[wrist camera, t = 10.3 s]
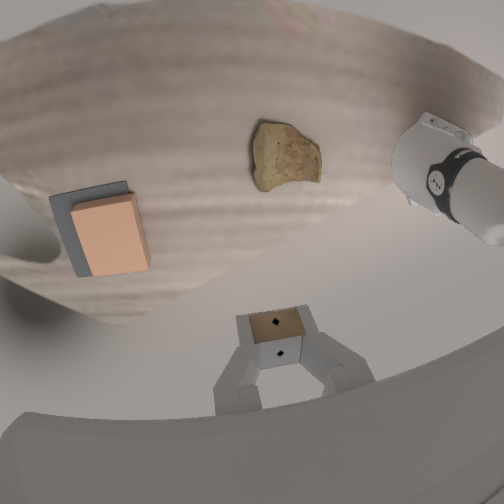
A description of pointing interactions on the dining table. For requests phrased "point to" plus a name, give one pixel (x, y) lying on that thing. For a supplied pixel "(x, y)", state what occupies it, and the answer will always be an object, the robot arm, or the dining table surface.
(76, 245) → the mat
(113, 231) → the tile
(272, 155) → the pottery shard
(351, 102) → the dining table surface
